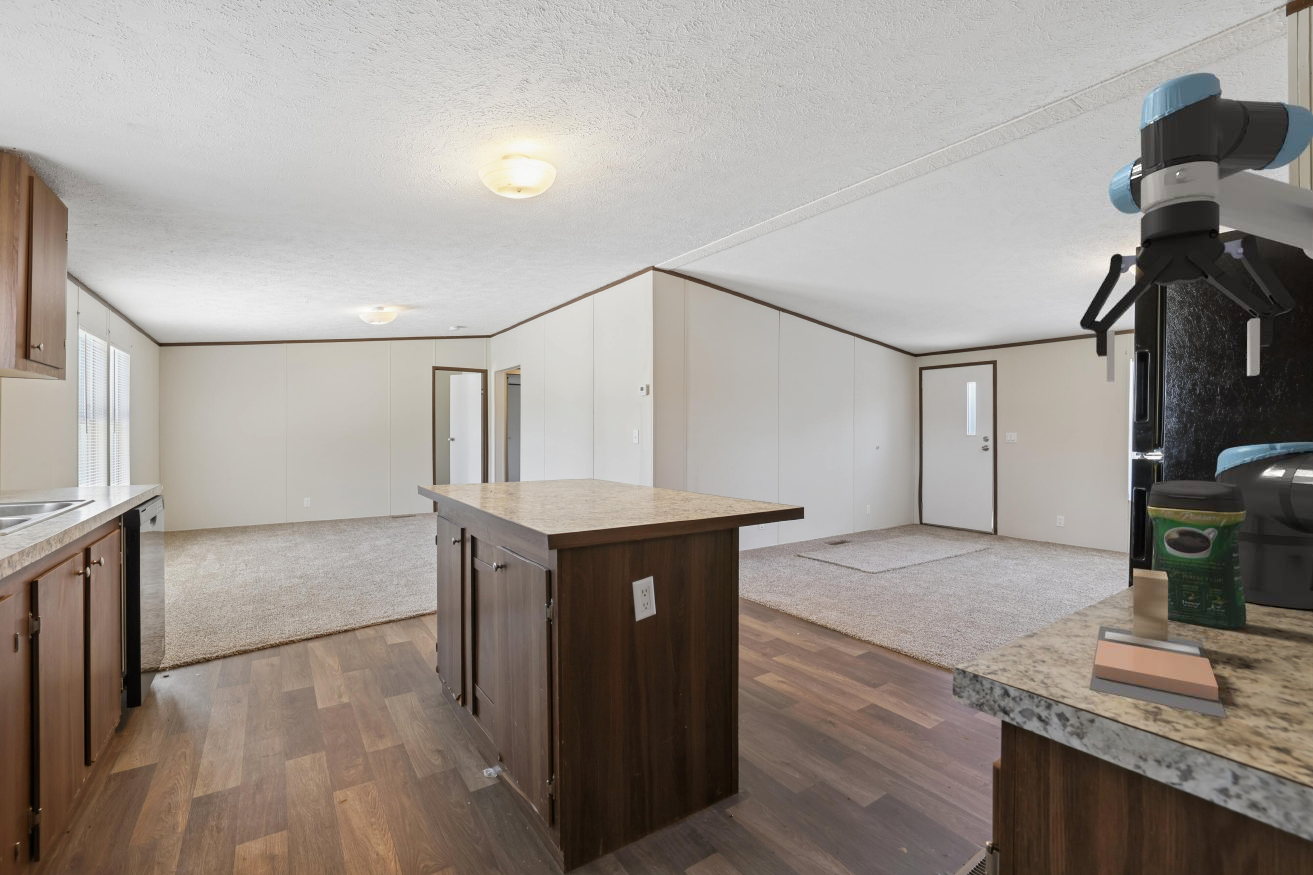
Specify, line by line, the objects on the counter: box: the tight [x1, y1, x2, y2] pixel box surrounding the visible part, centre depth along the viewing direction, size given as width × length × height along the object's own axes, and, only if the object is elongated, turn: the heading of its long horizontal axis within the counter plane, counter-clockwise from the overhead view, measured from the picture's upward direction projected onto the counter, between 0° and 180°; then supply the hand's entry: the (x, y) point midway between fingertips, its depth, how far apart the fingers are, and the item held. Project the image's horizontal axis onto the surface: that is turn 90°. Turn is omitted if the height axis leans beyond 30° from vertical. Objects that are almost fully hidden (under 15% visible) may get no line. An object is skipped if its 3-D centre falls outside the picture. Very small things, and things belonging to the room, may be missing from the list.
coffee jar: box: [1146, 479, 1247, 631], centre depth 80 cm, size 10×8×19 cm
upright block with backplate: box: [1105, 567, 1200, 657], centre depth 69 cm, size 8×8×8 cm
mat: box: [1088, 625, 1228, 719], centre depth 64 cm, size 10×24×1 cm, turn 142°
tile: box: [1094, 639, 1219, 701], centre depth 61 cm, size 9×1×9 cm
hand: (1178, 378), depth 77 cm, fingers open, 13 cm apart
